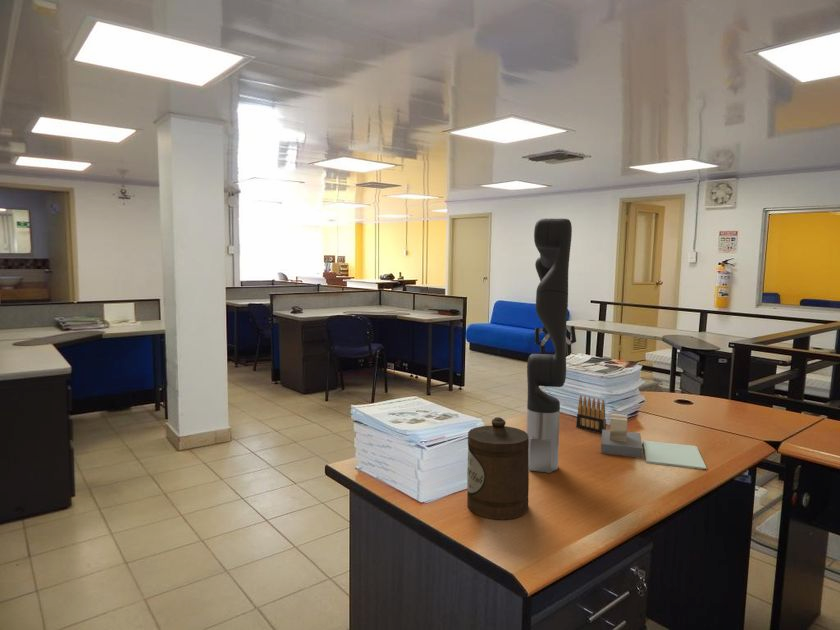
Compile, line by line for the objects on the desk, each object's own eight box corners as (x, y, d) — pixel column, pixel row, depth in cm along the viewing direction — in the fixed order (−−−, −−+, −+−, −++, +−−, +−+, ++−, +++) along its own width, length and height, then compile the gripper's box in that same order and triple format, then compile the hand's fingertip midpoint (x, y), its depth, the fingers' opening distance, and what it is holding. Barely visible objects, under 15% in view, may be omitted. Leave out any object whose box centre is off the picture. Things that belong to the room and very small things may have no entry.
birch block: (626, 441, 170) (627, 420, 169) (609, 439, 171) (610, 418, 171) (626, 436, 175) (626, 415, 175) (609, 434, 177) (610, 413, 176)
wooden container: (467, 492, 139) (468, 409, 137) (525, 494, 137) (527, 411, 135) (466, 518, 124) (467, 426, 122) (531, 522, 122) (533, 428, 120)
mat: (706, 469, 154) (706, 467, 154) (646, 462, 160) (646, 460, 159) (696, 447, 173) (696, 446, 173) (643, 442, 178) (643, 440, 178)
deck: (642, 457, 164) (642, 448, 163) (600, 453, 168) (601, 443, 167) (639, 441, 179) (640, 433, 178) (602, 437, 183) (602, 429, 182)
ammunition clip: (576, 427, 195) (577, 395, 194) (578, 426, 196) (579, 394, 195) (603, 434, 187) (604, 400, 186) (605, 432, 188) (607, 399, 187)
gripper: (534, 311, 190) (536, 357, 189) (575, 309, 188) (578, 355, 187) (532, 312, 197) (535, 356, 197) (572, 310, 195) (575, 354, 195)
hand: (556, 355), depth 192 cm, fingers open, 8 cm apart
